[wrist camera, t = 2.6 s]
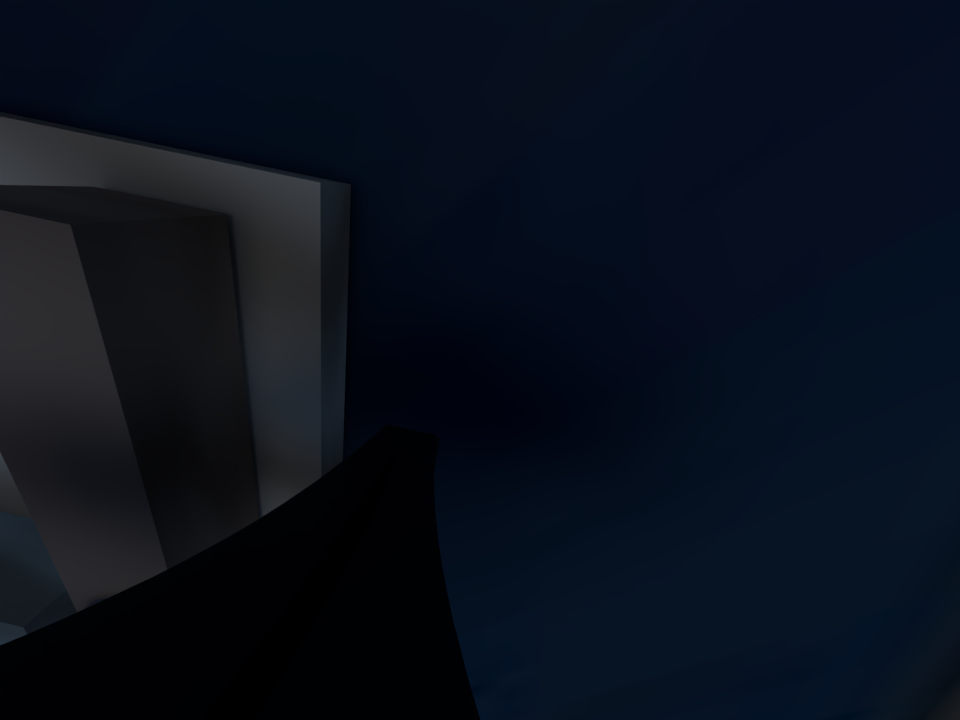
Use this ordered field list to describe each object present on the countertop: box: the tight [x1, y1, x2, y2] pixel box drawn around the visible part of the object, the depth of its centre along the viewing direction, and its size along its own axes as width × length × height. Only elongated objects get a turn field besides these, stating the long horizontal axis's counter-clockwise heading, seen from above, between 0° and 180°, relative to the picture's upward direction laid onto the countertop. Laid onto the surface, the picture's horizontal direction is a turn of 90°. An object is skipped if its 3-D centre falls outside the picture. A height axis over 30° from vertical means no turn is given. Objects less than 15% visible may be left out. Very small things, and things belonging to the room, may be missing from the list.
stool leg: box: [0, 185, 259, 612], centre depth 9 cm, size 12×3×4 cm, turn 169°
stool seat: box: [0, 112, 351, 645], centre depth 10 cm, size 15×15×4 cm
